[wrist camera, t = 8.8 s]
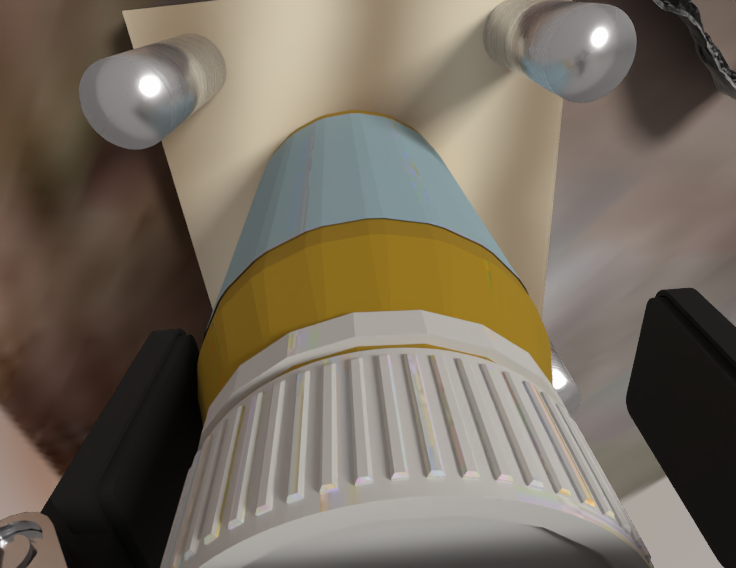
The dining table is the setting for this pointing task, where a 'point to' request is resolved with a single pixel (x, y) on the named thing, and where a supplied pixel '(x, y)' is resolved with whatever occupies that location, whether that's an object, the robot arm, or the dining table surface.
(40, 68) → the dining table surface
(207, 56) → the holder pins
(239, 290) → the bottle
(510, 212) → the holder base
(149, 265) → the dining table surface
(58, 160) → the dining table surface
